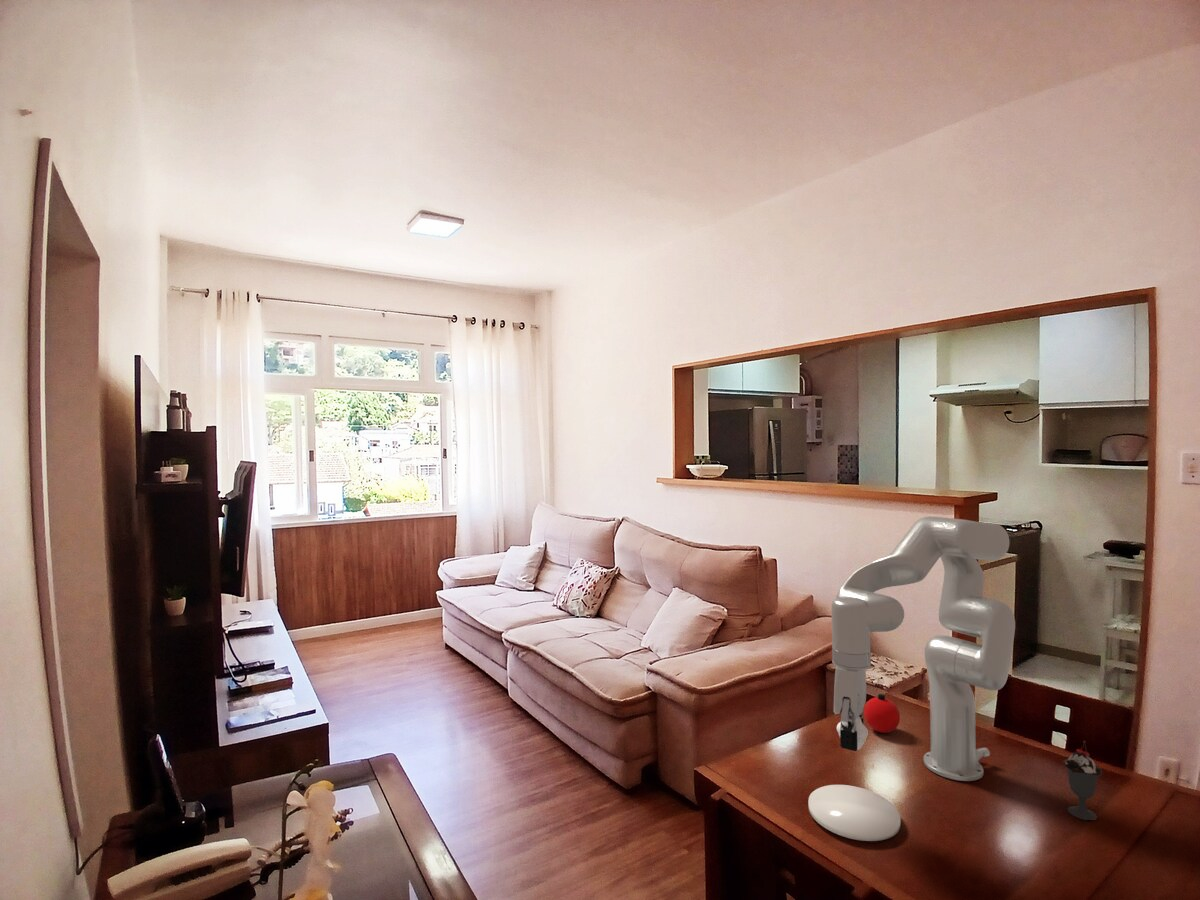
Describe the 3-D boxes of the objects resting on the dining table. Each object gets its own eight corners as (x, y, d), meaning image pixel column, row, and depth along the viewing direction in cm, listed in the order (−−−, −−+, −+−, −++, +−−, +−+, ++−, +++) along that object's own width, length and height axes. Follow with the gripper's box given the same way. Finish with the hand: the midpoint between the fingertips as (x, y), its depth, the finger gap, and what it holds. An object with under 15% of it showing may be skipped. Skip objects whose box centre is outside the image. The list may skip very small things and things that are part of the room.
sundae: (1094, 807, 132) (1093, 738, 132) (1108, 826, 125) (1107, 753, 125) (1057, 802, 134) (1057, 733, 134) (1069, 820, 128) (1069, 748, 127)
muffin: (868, 742, 131) (868, 710, 131) (868, 756, 126) (867, 722, 126) (837, 737, 134) (837, 705, 134) (835, 750, 128) (835, 717, 128)
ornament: (883, 741, 162) (883, 704, 162) (856, 727, 170) (856, 691, 170) (907, 734, 166) (907, 697, 166) (879, 721, 174) (879, 685, 174)
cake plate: (858, 786, 141) (858, 778, 141) (921, 833, 124) (920, 824, 124) (791, 802, 136) (791, 793, 136) (847, 853, 119) (847, 843, 119)
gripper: (841, 643, 139) (842, 722, 139) (822, 667, 124) (824, 755, 125) (877, 648, 135) (878, 730, 135) (862, 674, 120) (863, 765, 120)
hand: (852, 741), depth 130 cm, fingers closed on muffin, 6 cm apart
